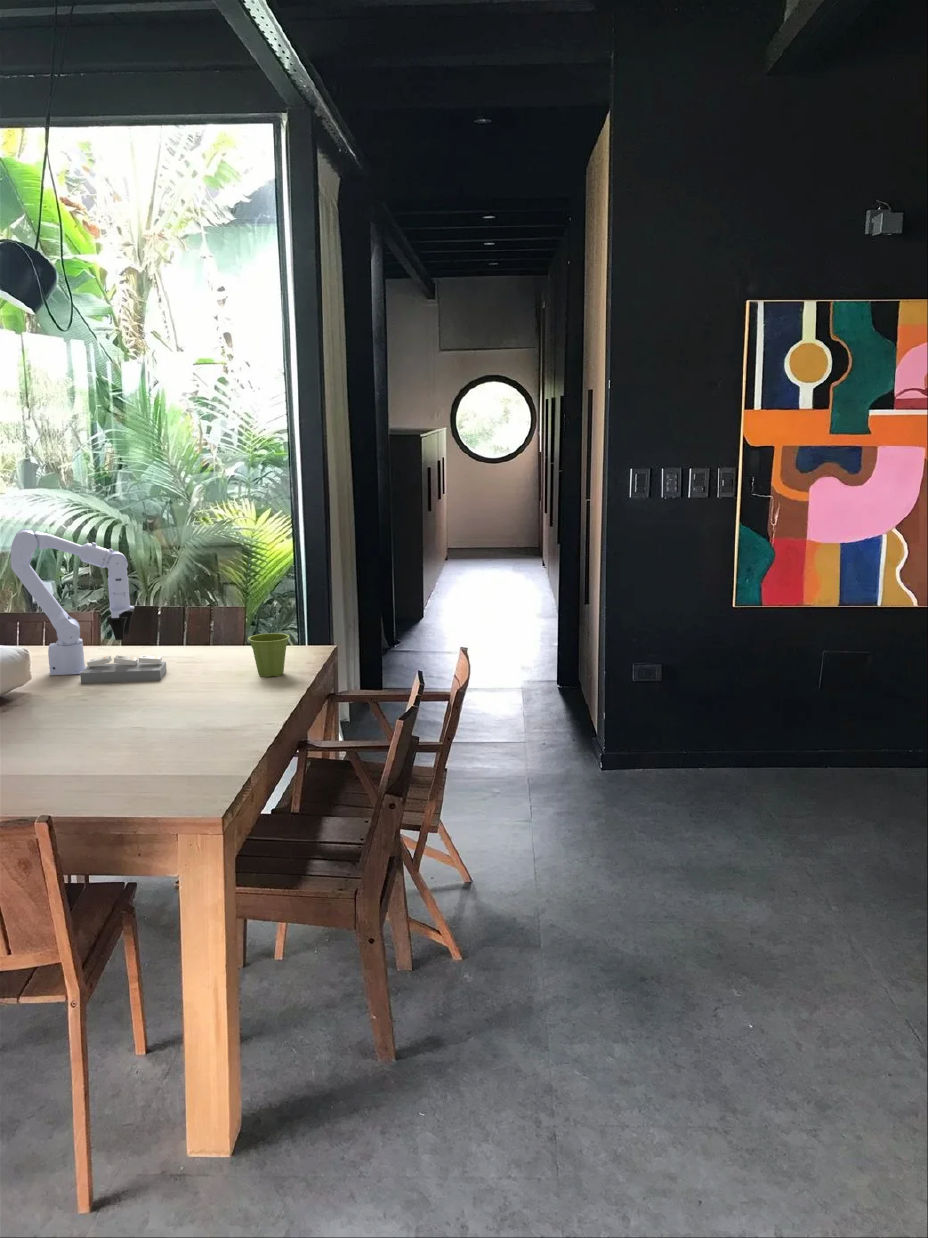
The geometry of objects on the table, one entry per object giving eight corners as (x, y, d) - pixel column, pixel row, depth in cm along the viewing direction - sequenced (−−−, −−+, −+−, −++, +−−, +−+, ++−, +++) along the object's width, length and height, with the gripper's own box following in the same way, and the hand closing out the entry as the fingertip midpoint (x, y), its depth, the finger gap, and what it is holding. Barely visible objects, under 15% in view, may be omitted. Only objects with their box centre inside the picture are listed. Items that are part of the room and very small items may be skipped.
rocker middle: (113, 662, 282) (114, 658, 281) (116, 660, 285) (116, 655, 285) (135, 665, 282) (135, 660, 282) (137, 662, 286) (137, 657, 286)
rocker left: (87, 667, 281) (86, 662, 281) (90, 664, 284) (89, 659, 284) (108, 663, 281) (107, 658, 281) (111, 660, 285) (110, 655, 284)
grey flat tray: (81, 683, 276) (80, 672, 276) (89, 674, 286) (88, 664, 285) (160, 680, 279) (159, 669, 278) (166, 671, 289) (165, 661, 288)
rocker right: (138, 662, 282) (138, 657, 282) (140, 659, 286) (141, 654, 286) (159, 663, 283) (159, 658, 283) (161, 660, 287) (162, 656, 286)
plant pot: (295, 669, 290) (294, 632, 288) (284, 680, 278) (283, 641, 276) (257, 669, 291) (255, 632, 289) (244, 679, 280) (242, 641, 277)
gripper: (127, 596, 283) (130, 641, 286) (137, 588, 298) (140, 631, 300) (102, 597, 283) (106, 642, 285) (114, 588, 297) (117, 632, 299)
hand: (122, 636), depth 293 cm, fingers open, 7 cm apart
